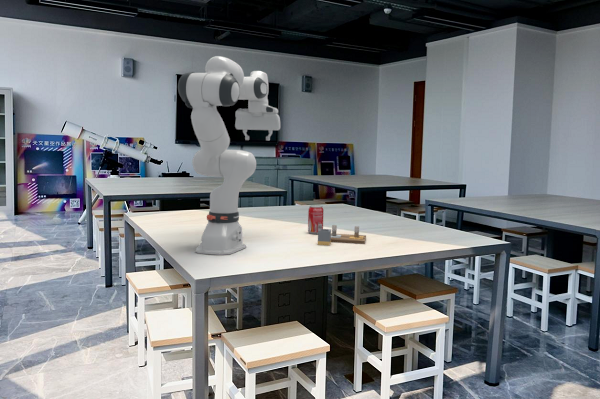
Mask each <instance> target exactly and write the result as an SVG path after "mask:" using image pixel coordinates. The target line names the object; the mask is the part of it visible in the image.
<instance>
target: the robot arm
mask: <svg viewBox="0 0 600 399" xmlns="http://www.w3.org/2000/svg"><path fill="white" fill-rule="evenodd" d="M204 70H205V72H194V71H192V72H191V71H190V72H185V73H183V74H182V75H181V76H180V78H179V79H178V83H177V90H178V94H179V96H180V98H181V100H182V101H183V102H184V103H185V106H186V107H187V108H189V109H192V111H191V115H190V119H191V125H192V128H193V131H194V135H195V136H196V139H197V141H198V143H199V146H200V149H198V150H197V151H196V152H195V153H194V155H193V158H192V163H191V164H192V168H193V170H194V171H195V173H196V174H198V175H201V176H205V177H209V178H210V177H213V178H223V182H222V184H220V185H219V186H216V187H215V188H213V189H212V190H211V192H210V194H209V212H208V214H207V215H206V220H207V224H206V226H205V227H204V230H203V232H202V236H201V242H200V244H199V245H198V246H197V247H196V249H195V253H196V254H197V253H198V254H204V255H220V256H222V255H232V254H233V253H236V252H238V251H241V250H243V249H246V248H247V244H246V243H243V238H244V237H243V226H242V225H241V224H240V223H239V219H240V218H239V217H240V212H239V209H238V208H239V193H240V190H241V188H242V186H243V184H244V183H245V182H246V181H247V180H248V178H250V177H252V175H254V173H255V172H256V168H257V160H256V156H255V155H254V154H253V153H252V152H250V151H247V150H242V149H228V148H229V146H230V143H231V138H230V136H229V133H228V130H227V128H226V125H225V122H224V121H223V118H222V117H221V114H220V113H219V111H218V109H217V107H219V106H220V107H221V106H222V107H230V106H231V107H232V106H234V105H235V104H236V103H237V102H238V100H243V101H245V100H248V104H247V105H248V106H247V107H248V108H238V109H237V110H236V111H235V124H234V127H235V129H236V130H242V133H243V135H244V136H245V137H244V139H245V141H249V140H250V135H248V134H247V132H248V130H251V131H268V135H266V136H265V141H270V140H271V136H272V135H273V131H280V130H281V118H280V115H279V109H278V108H277V107H273V106H272V105H269V99H268V95H269V77H268V74H267V73H266V72H265V71H261V70H253V71H250V74H249V76H245V74H244V70H243V68H242V66H240V65H239V63H238V62H235V61H234V60H232V59H230V58H228V57H225V56H220V55H215V56H213V57H211V58H210V59H208V60H207V62H206V63H205V67H204Z"/></svg>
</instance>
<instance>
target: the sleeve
mask: <svg viewBox="0 0 600 399" xmlns="http://www.w3.org/2000/svg"><path fill="white" fill-rule="evenodd" d="M331 233H332V228H331V229H330V228H329V229H328V228H326V229H325V228H323V229H319V230H318V234H317V245H318V246H331V244H332V242H331Z"/></svg>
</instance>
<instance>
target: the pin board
mask: <svg viewBox="0 0 600 399" xmlns="http://www.w3.org/2000/svg"><path fill="white" fill-rule="evenodd" d="M337 228H338V225H336V224H332V225H331V243H343V244H357V245H358V244H360V245H366V239H367V235H365V234H364V235H363V234H360V226H358V225H356V226H354V233H353V234H347V233H346V234H345V233H337Z"/></svg>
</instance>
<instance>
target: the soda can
mask: <svg viewBox="0 0 600 399" xmlns="http://www.w3.org/2000/svg"><path fill="white" fill-rule="evenodd" d="M307 214H308V215H307V217H308V218H307V219H308V220H307V232H308V233H309V234H311V235H318V230H319V229H324V207H323V205H319V204H317V205H316V204H315V205H309V208H308V212H307Z"/></svg>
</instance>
